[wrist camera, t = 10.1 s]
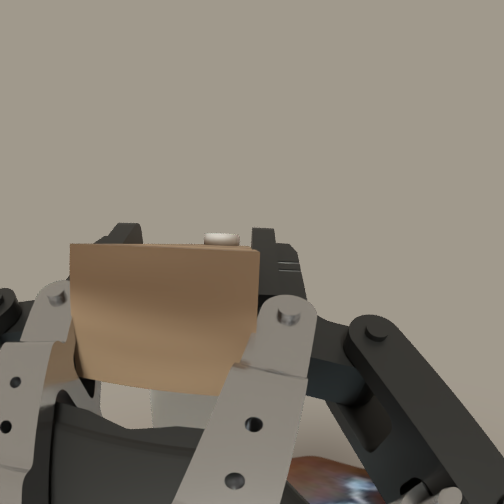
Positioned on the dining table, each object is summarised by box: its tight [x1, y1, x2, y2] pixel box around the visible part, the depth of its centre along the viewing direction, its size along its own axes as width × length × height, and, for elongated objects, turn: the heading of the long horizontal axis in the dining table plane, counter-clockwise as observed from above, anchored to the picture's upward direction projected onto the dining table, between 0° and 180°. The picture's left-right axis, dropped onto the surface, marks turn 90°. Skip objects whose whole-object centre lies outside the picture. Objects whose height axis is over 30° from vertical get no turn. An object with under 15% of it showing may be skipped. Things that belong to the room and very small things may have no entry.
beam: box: [70, 233, 260, 396], centre depth 18 cm, size 25×4×4 cm, turn 1°
